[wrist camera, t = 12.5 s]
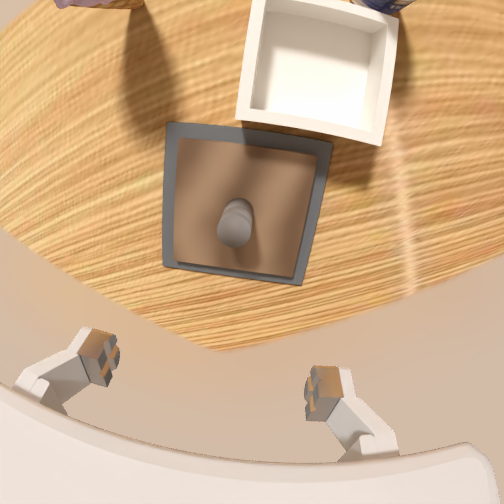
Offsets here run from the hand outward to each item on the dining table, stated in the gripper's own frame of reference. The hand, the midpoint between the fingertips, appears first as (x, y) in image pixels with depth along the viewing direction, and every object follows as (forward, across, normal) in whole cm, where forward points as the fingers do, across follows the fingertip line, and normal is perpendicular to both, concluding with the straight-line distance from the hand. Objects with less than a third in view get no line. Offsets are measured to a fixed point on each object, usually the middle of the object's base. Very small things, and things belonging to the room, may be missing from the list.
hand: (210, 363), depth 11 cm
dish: (+21, -4, -14) cm, 26 cm away
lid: (+20, +1, +1) cm, 21 cm away
